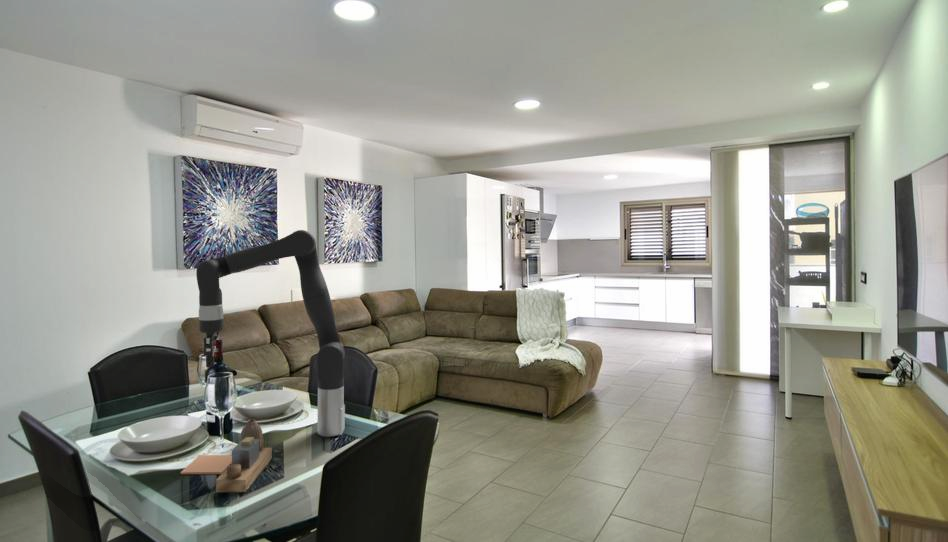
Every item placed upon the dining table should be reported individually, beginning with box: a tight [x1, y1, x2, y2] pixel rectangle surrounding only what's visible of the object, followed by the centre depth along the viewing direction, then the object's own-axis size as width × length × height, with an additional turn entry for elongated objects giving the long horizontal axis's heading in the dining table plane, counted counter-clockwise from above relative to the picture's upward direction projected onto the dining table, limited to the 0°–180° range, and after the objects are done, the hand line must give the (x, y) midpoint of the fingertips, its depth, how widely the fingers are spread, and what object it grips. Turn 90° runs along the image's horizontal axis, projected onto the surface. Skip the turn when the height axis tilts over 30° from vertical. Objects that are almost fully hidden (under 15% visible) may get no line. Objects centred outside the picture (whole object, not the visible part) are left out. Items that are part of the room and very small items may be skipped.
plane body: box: [215, 438, 273, 493], centre depth 151 cm, size 8×22×6 cm, turn 4°
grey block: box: [231, 437, 259, 469], centre depth 151 cm, size 5×8×6 cm, turn 4°
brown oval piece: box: [239, 419, 263, 442], centre depth 172 cm, size 7×7×9 cm
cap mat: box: [180, 454, 232, 475], centre depth 157 cm, size 12×12×1 cm
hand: (212, 364), depth 175 cm, fingers open, 8 cm apart
